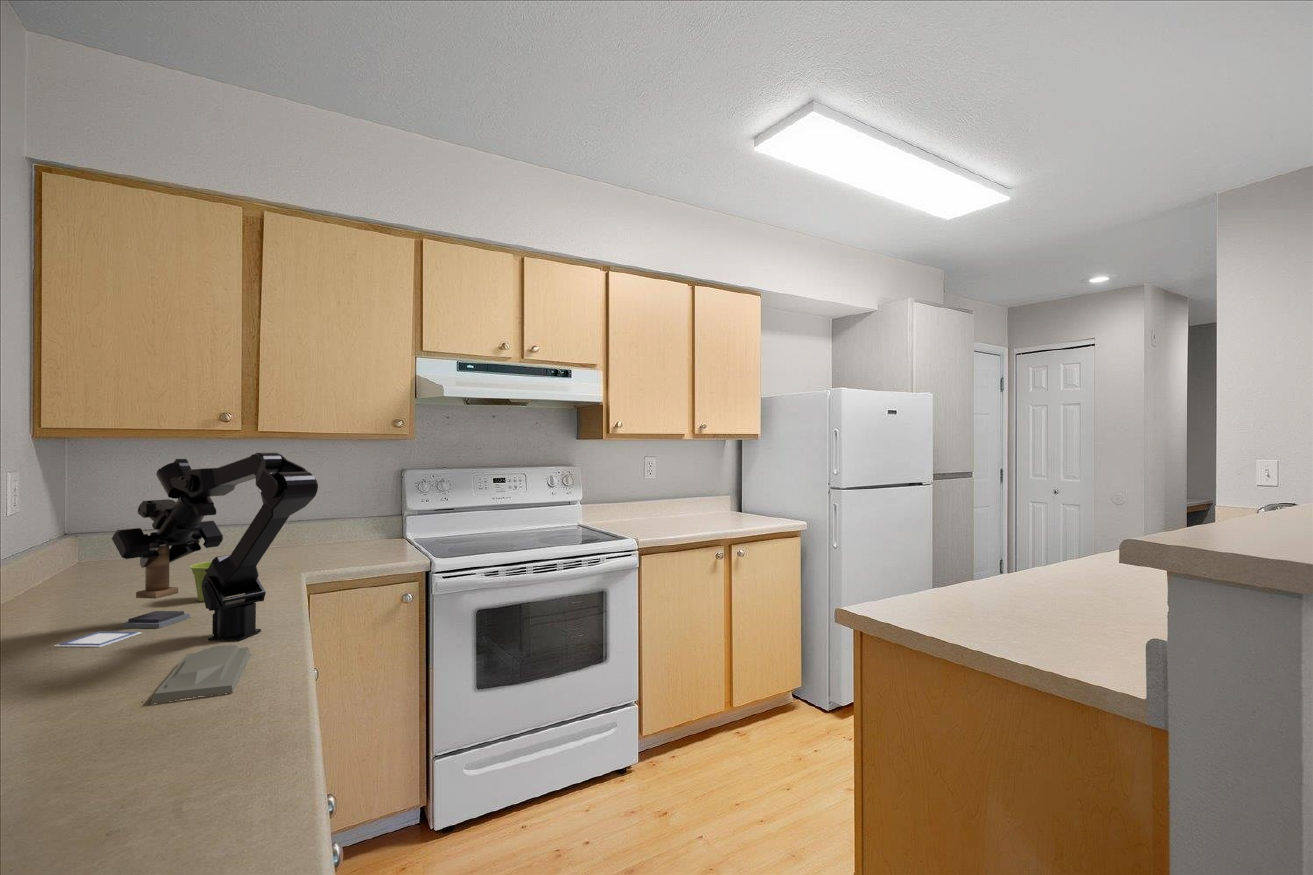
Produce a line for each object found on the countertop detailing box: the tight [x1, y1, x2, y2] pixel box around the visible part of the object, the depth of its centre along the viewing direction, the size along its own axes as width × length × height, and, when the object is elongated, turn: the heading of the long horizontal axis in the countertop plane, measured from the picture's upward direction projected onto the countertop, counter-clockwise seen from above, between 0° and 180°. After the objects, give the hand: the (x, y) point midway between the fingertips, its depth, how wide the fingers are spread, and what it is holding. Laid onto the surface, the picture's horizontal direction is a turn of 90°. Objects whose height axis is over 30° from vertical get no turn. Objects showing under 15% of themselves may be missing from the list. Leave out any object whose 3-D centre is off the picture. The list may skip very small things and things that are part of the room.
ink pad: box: [121, 610, 191, 629], centre depth 132 cm, size 8×8×2 cm
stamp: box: [135, 545, 179, 600], centre depth 133 cm, size 5×5×12 cm
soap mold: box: [150, 644, 251, 704], centre depth 100 cm, size 10×20×4 cm, turn 26°
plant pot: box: [189, 561, 228, 602], centre depth 154 cm, size 9×9×9 cm
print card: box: [53, 631, 143, 648], centre depth 120 cm, size 9×9×1 cm
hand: (153, 564), depth 133 cm, fingers closed on stamp, 4 cm apart
